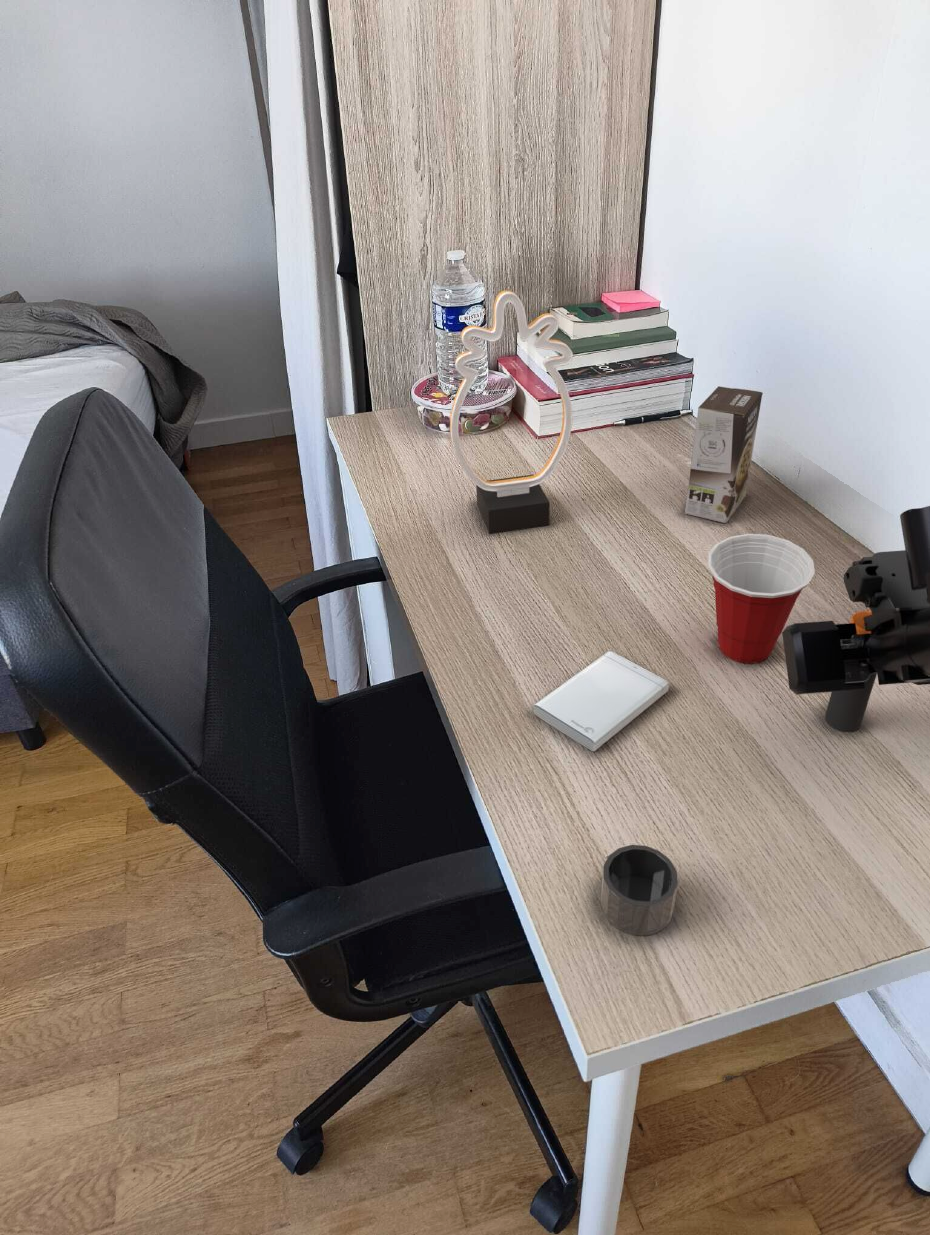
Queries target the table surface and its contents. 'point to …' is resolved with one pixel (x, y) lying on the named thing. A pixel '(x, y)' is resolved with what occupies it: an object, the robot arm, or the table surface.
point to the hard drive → (601, 700)
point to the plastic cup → (755, 591)
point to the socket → (638, 890)
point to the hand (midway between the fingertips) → (851, 661)
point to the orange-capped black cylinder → (851, 694)
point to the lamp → (523, 496)
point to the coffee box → (722, 453)
